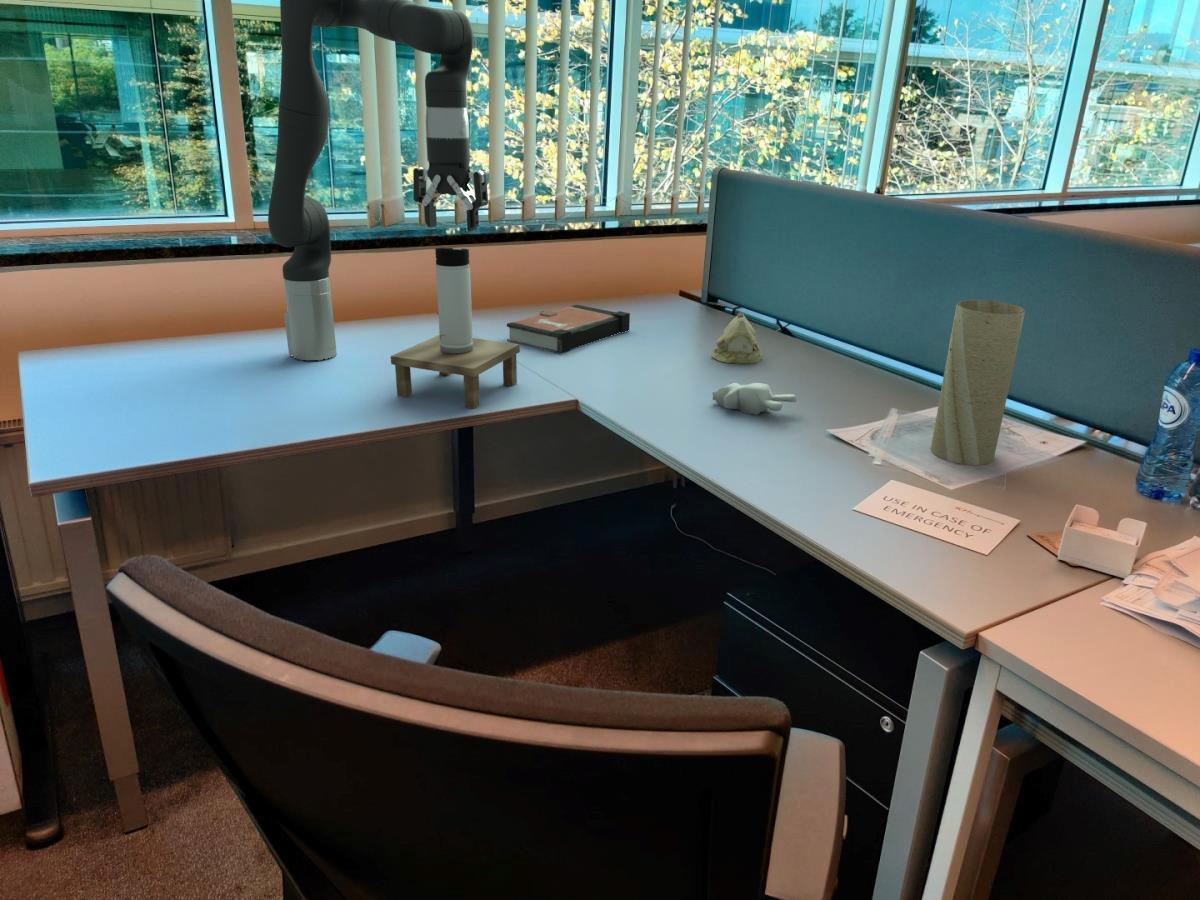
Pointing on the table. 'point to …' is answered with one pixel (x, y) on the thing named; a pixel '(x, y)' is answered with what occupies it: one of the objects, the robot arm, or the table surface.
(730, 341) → the ceramic model
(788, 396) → the bunny figurine
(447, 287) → the travel mug
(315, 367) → the table surface
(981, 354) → the tube
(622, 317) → the book
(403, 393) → the footstool
